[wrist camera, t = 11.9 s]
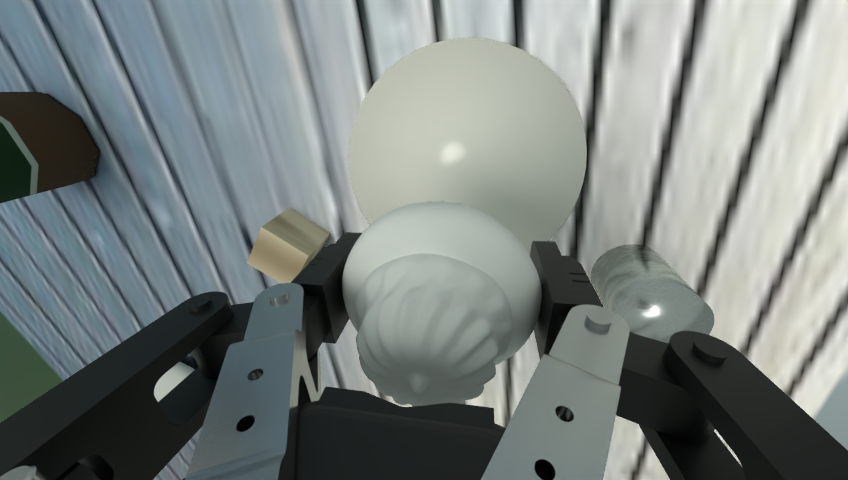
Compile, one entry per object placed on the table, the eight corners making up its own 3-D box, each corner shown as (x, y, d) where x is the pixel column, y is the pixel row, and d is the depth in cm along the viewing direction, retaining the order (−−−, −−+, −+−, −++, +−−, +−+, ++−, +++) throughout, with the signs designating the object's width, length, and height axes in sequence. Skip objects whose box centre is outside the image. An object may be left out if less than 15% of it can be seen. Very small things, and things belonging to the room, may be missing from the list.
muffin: (386, 301, 15) (319, 458, 9) (364, 173, 12) (243, 273, 6) (522, 305, 14) (555, 490, 8) (531, 166, 11) (594, 280, 5)
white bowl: (436, 292, 28) (434, 302, 27) (313, 143, 24) (303, 147, 22) (620, 199, 22) (629, 206, 21) (500, -29, 17) (502, -38, 16)
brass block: (313, 263, 29) (291, 288, 26) (275, 240, 29) (247, 263, 25) (330, 232, 27) (308, 255, 24) (290, 207, 27) (261, 227, 23)
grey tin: (606, 307, 26) (638, 365, 21) (580, 263, 25) (606, 314, 19) (672, 282, 24) (725, 339, 19) (647, 233, 23) (697, 280, 17)
